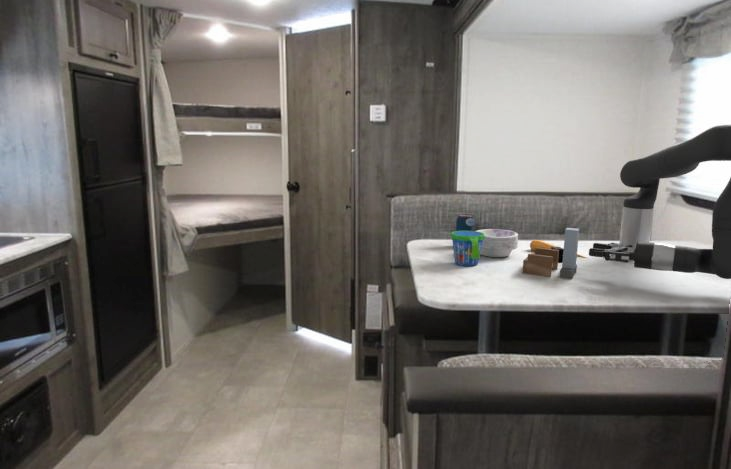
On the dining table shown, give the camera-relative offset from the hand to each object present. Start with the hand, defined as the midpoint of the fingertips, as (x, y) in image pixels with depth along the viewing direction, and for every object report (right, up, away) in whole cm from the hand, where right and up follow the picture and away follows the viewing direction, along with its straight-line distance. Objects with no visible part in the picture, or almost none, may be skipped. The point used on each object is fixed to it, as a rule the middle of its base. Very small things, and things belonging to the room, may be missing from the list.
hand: (591, 249), depth 149 cm
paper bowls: (-21, -3, +29) cm, 36 cm away
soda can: (-29, -1, +41) cm, 50 cm away
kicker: (-5, -8, +4) cm, 10 cm away
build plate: (-1, -5, +24) cm, 24 cm away
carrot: (+2, -3, +31) cm, 32 cm away
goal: (-12, -7, +8) cm, 16 cm away
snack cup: (-33, -6, +16) cm, 38 cm away
